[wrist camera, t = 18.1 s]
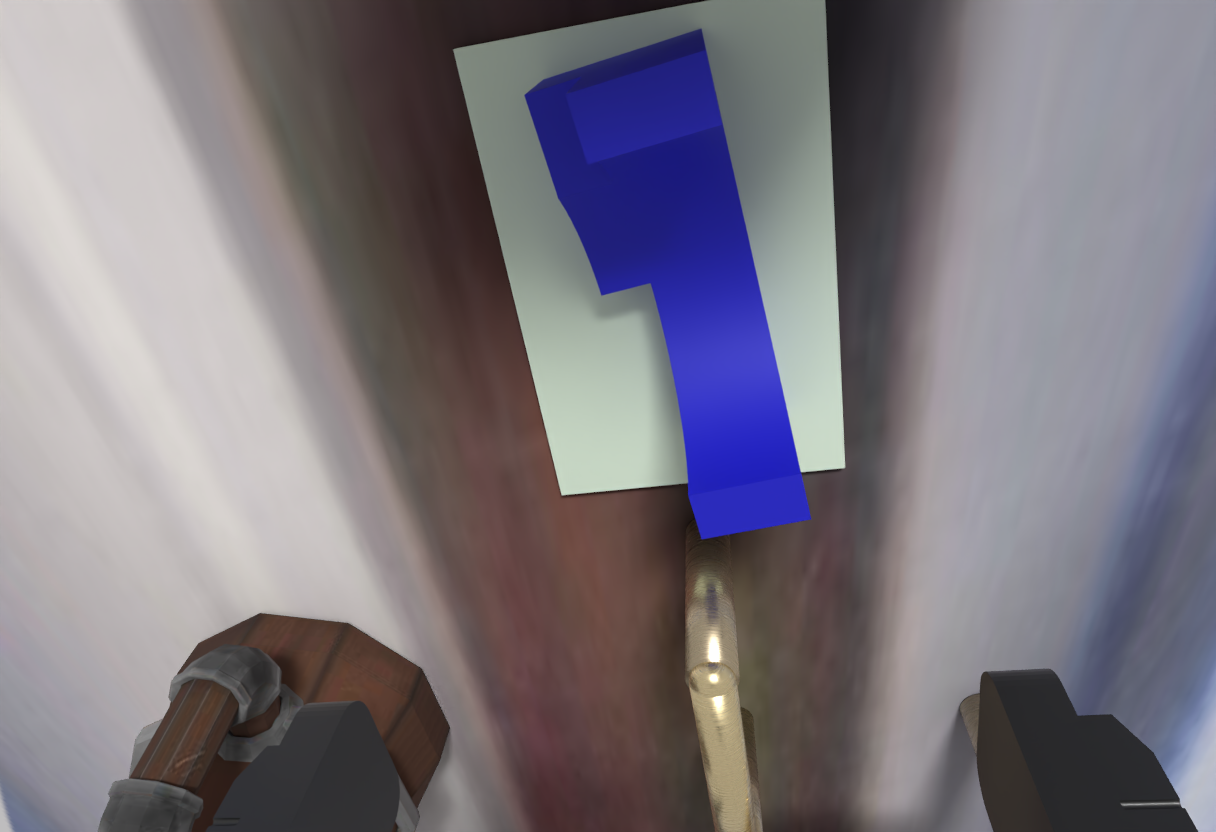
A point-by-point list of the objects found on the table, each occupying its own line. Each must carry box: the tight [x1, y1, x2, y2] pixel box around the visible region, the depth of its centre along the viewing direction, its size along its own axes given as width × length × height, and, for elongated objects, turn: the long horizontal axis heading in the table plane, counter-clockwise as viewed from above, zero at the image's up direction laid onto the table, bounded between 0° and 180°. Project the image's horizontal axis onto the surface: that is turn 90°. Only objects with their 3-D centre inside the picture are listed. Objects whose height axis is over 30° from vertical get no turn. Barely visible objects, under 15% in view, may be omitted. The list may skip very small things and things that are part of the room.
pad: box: [453, 0, 845, 495], centre depth 25 cm, size 10×15×1 cm, turn 10°
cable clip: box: [524, 28, 811, 539], centre depth 22 cm, size 12×4×6 cm, turn 17°
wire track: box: [685, 519, 980, 832], centre depth 28 cm, size 12×12×8 cm
